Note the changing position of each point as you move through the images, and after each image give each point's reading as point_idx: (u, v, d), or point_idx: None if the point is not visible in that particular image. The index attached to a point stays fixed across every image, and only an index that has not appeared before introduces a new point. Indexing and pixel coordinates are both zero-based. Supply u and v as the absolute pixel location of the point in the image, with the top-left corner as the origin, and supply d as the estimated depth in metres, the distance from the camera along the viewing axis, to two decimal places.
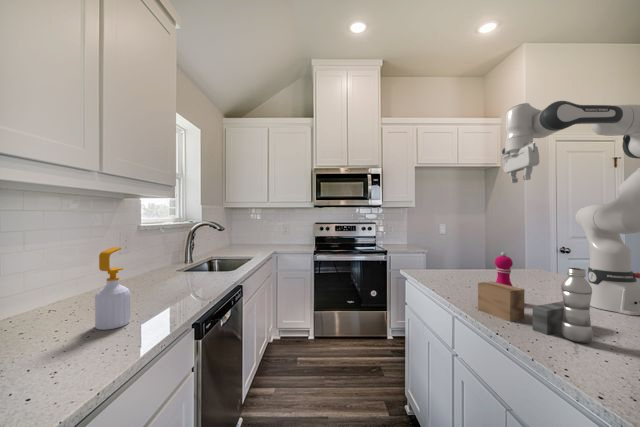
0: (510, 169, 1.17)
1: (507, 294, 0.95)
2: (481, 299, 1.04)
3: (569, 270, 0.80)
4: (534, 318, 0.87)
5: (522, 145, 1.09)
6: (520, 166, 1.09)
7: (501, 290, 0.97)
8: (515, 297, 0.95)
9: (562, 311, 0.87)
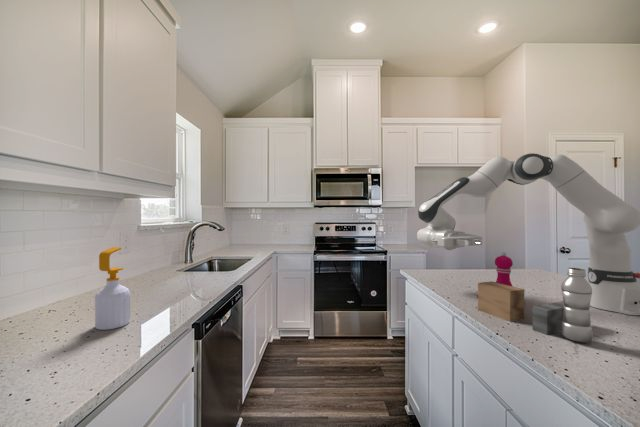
0: (470, 245, 1.17)
1: (507, 294, 0.95)
2: (481, 299, 1.04)
3: (569, 270, 0.80)
4: (534, 318, 0.87)
5: None
6: (456, 246, 1.14)
7: (501, 290, 0.97)
8: (515, 297, 0.95)
9: (562, 311, 0.87)
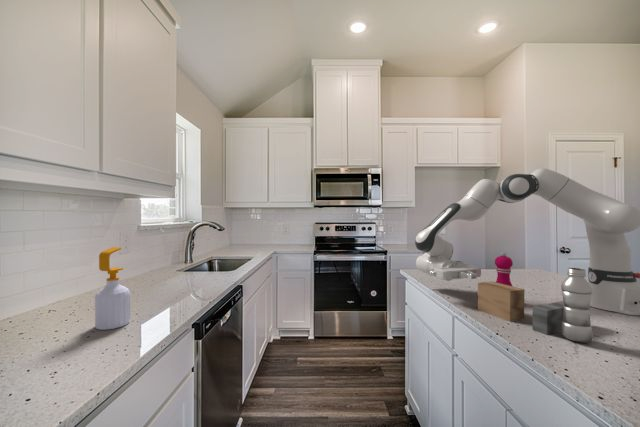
0: None
1: (507, 294, 0.95)
2: (481, 299, 1.04)
3: (569, 270, 0.80)
4: (534, 318, 0.87)
5: None
6: None
7: (501, 290, 0.97)
8: (515, 297, 0.95)
9: (562, 311, 0.87)
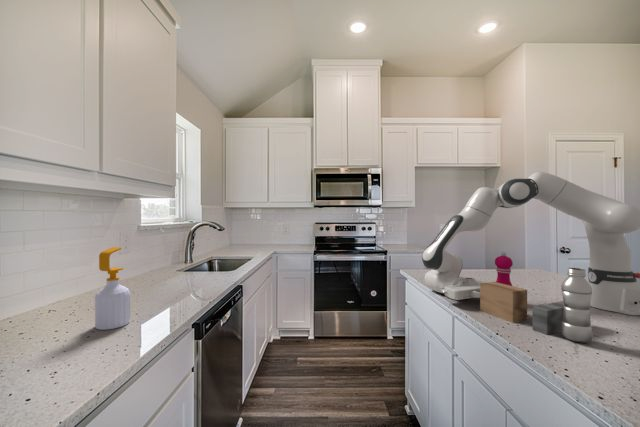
0: None
1: (510, 295, 0.94)
2: (483, 299, 1.03)
3: (569, 270, 0.80)
4: (534, 318, 0.87)
5: None
6: None
7: (504, 290, 0.96)
8: (518, 297, 0.94)
9: (562, 311, 0.87)
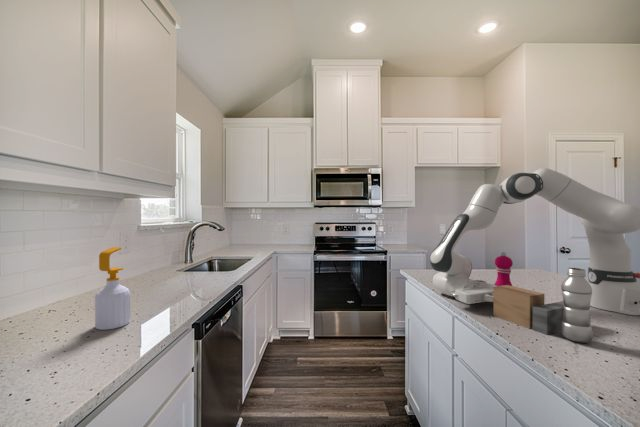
0: None
1: (526, 299, 0.89)
2: (497, 304, 0.98)
3: (569, 270, 0.80)
4: (534, 318, 0.87)
5: None
6: None
7: (519, 295, 0.91)
8: (535, 302, 0.89)
9: (562, 311, 0.87)
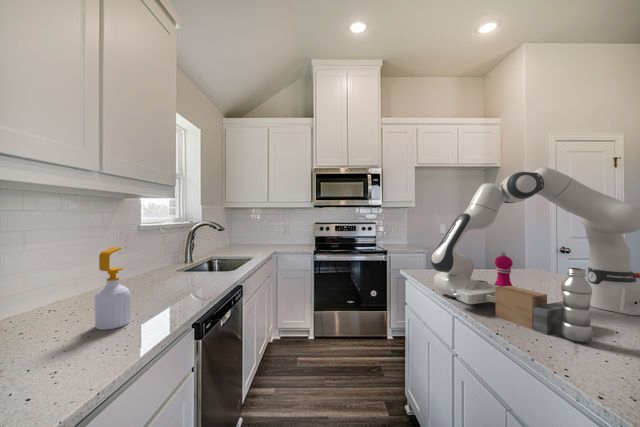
0: None
1: (529, 300, 0.88)
2: (499, 305, 0.97)
3: (569, 270, 0.80)
4: (534, 318, 0.87)
5: None
6: (480, 302, 1.04)
7: (522, 295, 0.90)
8: (538, 303, 0.89)
9: (562, 311, 0.87)
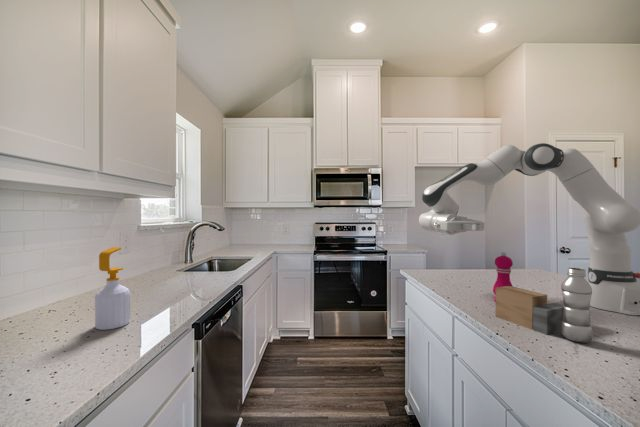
0: (472, 230, 1.17)
1: (529, 300, 0.88)
2: (499, 305, 0.97)
3: (569, 270, 0.80)
4: (534, 318, 0.87)
5: None
6: (458, 230, 1.14)
7: (522, 296, 0.90)
8: (538, 303, 0.89)
9: (562, 311, 0.87)
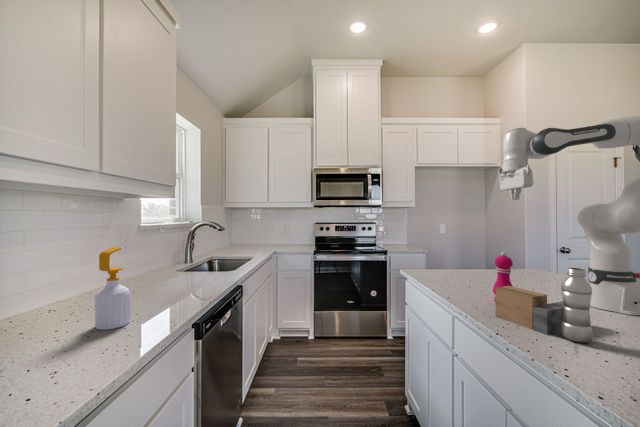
0: (506, 187, 1.27)
1: (529, 300, 0.88)
2: (499, 305, 0.97)
3: (569, 270, 0.80)
4: (534, 318, 0.87)
5: (518, 167, 1.19)
6: (515, 186, 1.19)
7: (522, 296, 0.90)
8: (538, 303, 0.89)
9: (562, 311, 0.87)
